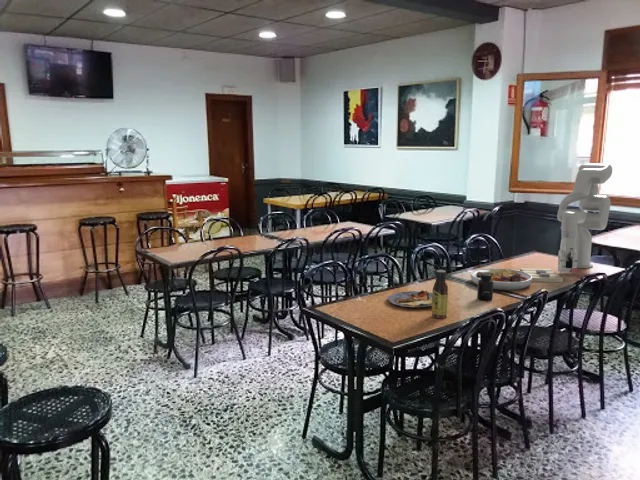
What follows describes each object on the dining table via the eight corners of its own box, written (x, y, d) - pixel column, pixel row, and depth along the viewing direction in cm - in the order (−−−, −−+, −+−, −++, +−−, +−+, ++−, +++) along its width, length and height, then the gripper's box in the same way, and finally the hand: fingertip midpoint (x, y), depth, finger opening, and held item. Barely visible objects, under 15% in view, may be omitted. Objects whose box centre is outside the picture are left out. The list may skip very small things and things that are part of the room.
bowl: (458, 280, 273) (459, 265, 271) (505, 275, 282) (506, 261, 280) (494, 294, 245) (494, 278, 243) (545, 288, 254) (546, 273, 252)
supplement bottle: (484, 302, 231) (485, 276, 229) (473, 298, 237) (474, 273, 235) (495, 300, 234) (497, 275, 232) (484, 296, 240) (485, 271, 238)
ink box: (573, 270, 282) (574, 249, 279) (576, 272, 277) (578, 251, 274) (557, 270, 283) (558, 249, 280) (560, 272, 278) (561, 251, 275)
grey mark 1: (536, 272, 277) (536, 269, 277) (543, 272, 276) (543, 269, 276) (538, 274, 273) (538, 271, 273) (545, 274, 272) (546, 271, 272)
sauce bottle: (429, 314, 216) (430, 268, 212) (444, 314, 216) (445, 268, 213) (434, 319, 209) (435, 272, 206) (449, 319, 210) (450, 272, 206)
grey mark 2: (539, 275, 270) (539, 272, 270) (547, 275, 270) (547, 272, 270) (541, 277, 267) (541, 274, 266) (549, 277, 266) (549, 274, 266)
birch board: (520, 271, 287) (520, 268, 287) (549, 272, 285) (550, 268, 285) (530, 281, 266) (530, 277, 265) (562, 282, 264) (562, 278, 263)
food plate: (431, 293, 247) (431, 286, 246) (451, 308, 224) (451, 300, 224) (381, 298, 243) (381, 291, 242) (397, 313, 220) (397, 305, 219)
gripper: (556, 231, 284) (555, 262, 288) (566, 237, 268) (565, 270, 271) (570, 231, 283) (569, 262, 287) (582, 237, 267) (579, 270, 270)
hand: (567, 266), depth 279 cm, fingers closed on ink box, 5 cm apart
